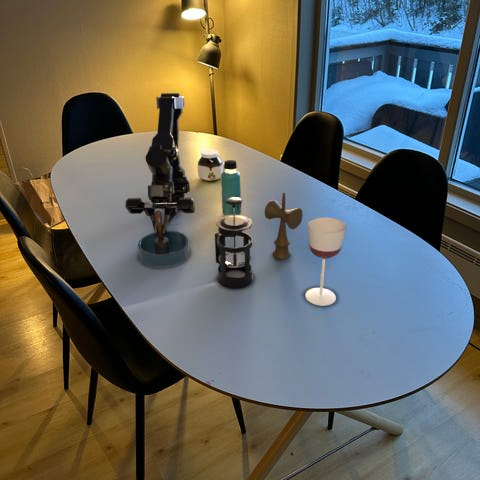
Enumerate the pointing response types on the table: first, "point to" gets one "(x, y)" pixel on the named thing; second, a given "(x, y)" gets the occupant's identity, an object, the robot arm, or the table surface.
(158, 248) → the peg on round base
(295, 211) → the kendama
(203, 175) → the spread jar
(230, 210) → the beverage bottle
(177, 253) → the dish
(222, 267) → the french press
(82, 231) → the table surface
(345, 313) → the table surface
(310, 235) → the wineglass
